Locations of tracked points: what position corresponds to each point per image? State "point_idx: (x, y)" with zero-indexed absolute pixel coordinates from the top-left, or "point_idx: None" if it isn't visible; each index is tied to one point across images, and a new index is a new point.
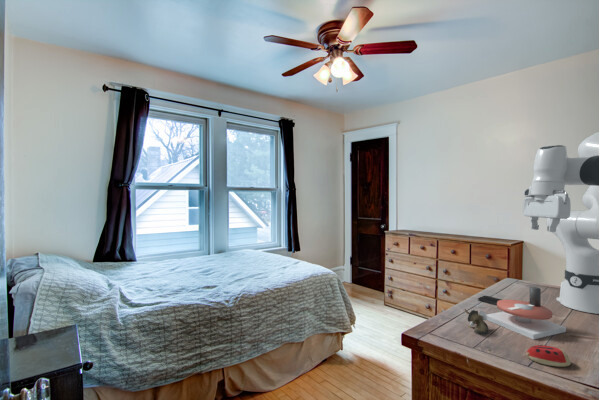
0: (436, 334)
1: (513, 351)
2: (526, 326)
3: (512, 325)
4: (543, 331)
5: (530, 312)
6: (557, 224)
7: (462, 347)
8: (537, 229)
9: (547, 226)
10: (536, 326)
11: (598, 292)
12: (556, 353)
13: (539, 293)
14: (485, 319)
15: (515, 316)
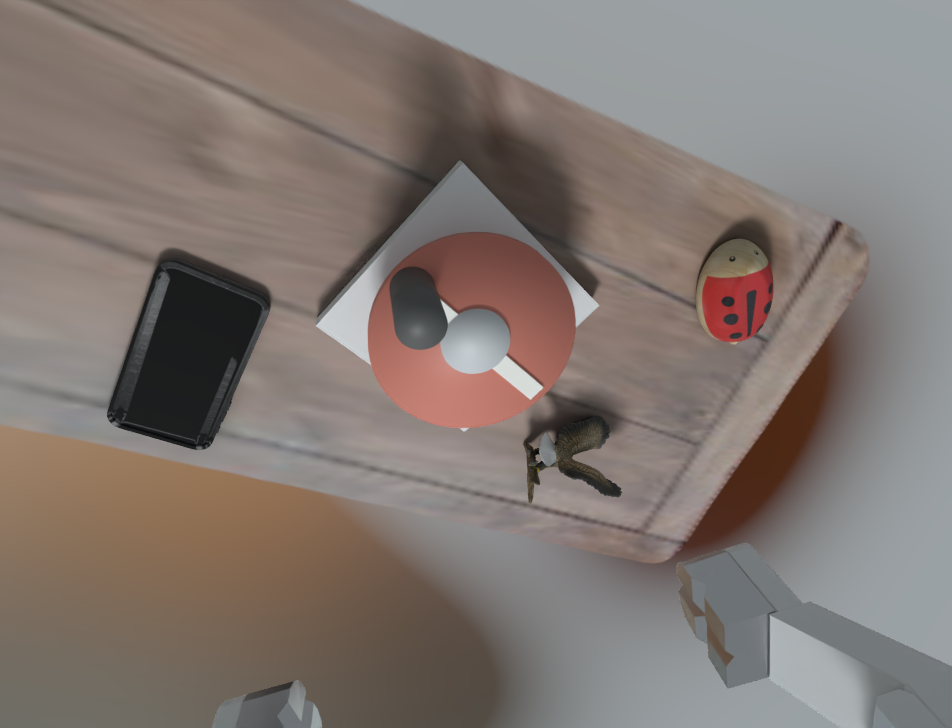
0: (645, 517)
1: (695, 362)
2: None
3: None
4: (555, 266)
5: (541, 326)
6: (875, 640)
7: (703, 464)
8: (296, 686)
9: (725, 682)
10: None
11: None
12: (771, 286)
13: (438, 299)
14: (547, 435)
15: None
